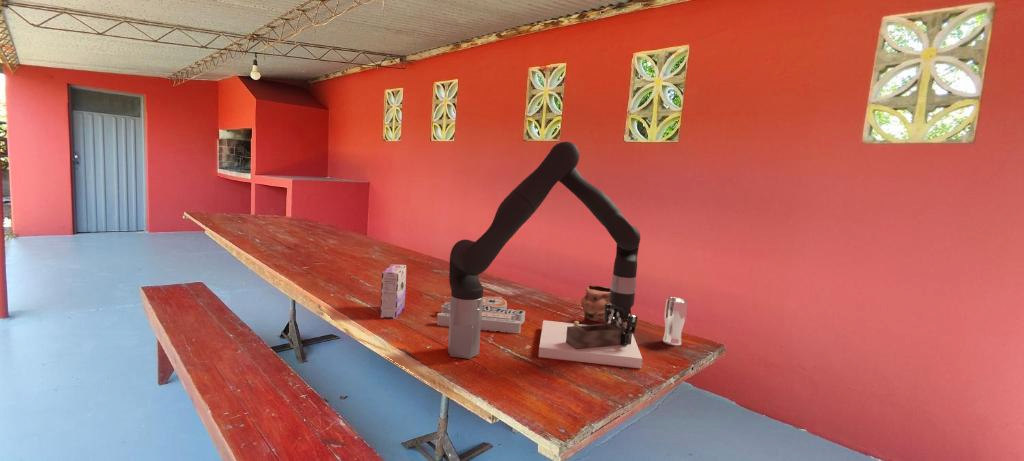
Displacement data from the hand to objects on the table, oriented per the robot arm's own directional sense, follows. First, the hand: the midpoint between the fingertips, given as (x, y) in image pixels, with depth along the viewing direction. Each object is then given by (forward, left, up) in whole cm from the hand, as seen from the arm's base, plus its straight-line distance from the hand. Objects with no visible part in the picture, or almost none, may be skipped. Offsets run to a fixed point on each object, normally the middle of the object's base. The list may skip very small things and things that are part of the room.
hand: (617, 340), depth 156 cm
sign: (+20, +46, -4) cm, 51 cm away
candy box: (+13, +78, -3) cm, 79 cm away
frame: (-4, +6, 0) cm, 7 cm away
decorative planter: (+24, +4, -3) cm, 25 cm away
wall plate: (0, +9, -3) cm, 10 cm away
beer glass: (+13, -20, -3) cm, 24 cm away
